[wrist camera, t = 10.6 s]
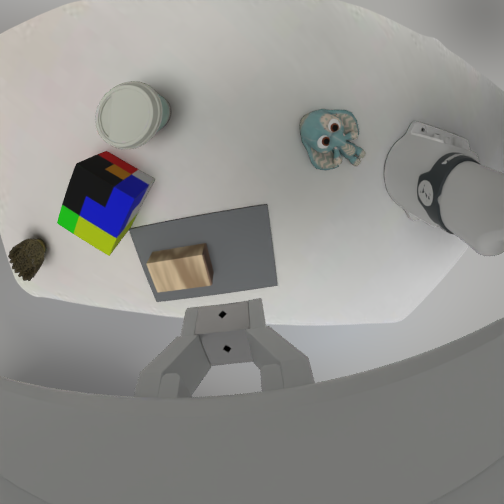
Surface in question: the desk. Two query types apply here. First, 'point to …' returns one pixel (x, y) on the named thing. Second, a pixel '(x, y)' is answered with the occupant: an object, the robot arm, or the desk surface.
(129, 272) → the desk surface
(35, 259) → the olive cup-shaped piece
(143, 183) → the puzzle toy
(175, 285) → the oak block
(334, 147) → the stuffed animal
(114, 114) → the coffee cup
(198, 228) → the mat
